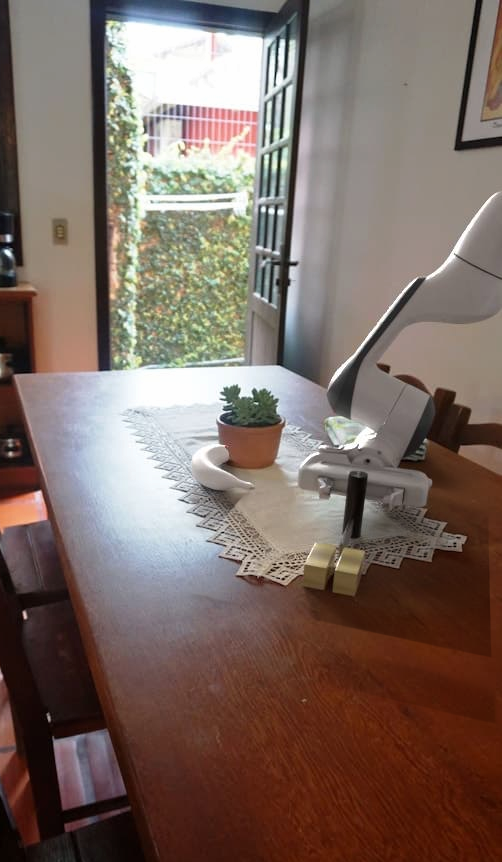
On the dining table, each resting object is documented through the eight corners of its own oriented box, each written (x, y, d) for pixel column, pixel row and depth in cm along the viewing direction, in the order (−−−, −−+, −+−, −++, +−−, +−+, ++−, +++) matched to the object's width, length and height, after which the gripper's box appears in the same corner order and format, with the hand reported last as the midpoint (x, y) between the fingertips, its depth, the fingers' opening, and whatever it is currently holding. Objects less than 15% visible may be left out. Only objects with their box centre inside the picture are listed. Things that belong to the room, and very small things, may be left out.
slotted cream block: (319, 528, 110) (321, 502, 108) (388, 540, 106) (392, 514, 105) (282, 598, 90) (285, 568, 88) (367, 615, 86) (371, 584, 85)
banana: (209, 455, 140) (279, 464, 136) (176, 492, 124) (254, 504, 120) (209, 432, 138) (280, 441, 134) (176, 467, 121) (255, 479, 118)
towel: (341, 462, 138) (343, 438, 136) (323, 430, 158) (325, 409, 156) (429, 464, 139) (433, 440, 137) (400, 432, 159) (403, 410, 157)
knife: (343, 529, 106) (350, 469, 102) (361, 532, 106) (369, 472, 102) (329, 562, 96) (336, 497, 92) (349, 566, 96) (356, 500, 92)
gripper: (430, 496, 112) (424, 530, 100) (307, 478, 118) (288, 508, 106) (436, 460, 109) (430, 490, 97) (310, 443, 116) (291, 470, 103)
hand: (355, 499), depth 102 cm, fingers open, 8 cm apart
